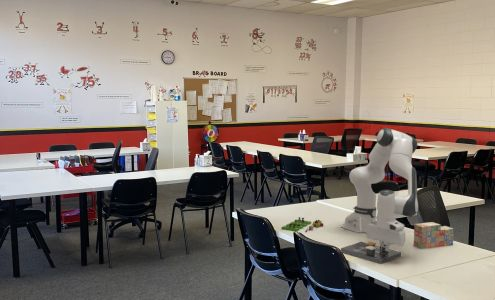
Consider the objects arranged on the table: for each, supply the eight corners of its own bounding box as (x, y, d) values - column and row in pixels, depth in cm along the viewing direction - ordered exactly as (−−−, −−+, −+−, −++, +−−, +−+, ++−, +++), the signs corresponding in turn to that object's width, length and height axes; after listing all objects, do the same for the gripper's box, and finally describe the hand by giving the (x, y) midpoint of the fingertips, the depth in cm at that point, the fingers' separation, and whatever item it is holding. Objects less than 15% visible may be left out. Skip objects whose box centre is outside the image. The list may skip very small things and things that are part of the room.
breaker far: (379, 249, 247) (379, 242, 247) (382, 247, 249) (383, 241, 249) (385, 250, 244) (385, 244, 244) (389, 249, 247) (389, 242, 246)
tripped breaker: (365, 249, 246) (365, 243, 246) (369, 248, 248) (369, 241, 248) (371, 251, 243) (371, 244, 243) (375, 249, 246) (375, 243, 245)
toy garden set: (296, 222, 313) (296, 215, 312) (324, 226, 303) (324, 218, 303) (281, 230, 293) (281, 222, 292) (310, 234, 283) (310, 226, 283)
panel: (340, 252, 249) (340, 248, 249) (361, 245, 261) (361, 241, 261) (381, 263, 231) (381, 259, 231) (401, 256, 243) (401, 251, 243)
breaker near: (365, 253, 239) (365, 247, 239) (369, 252, 241) (369, 245, 241) (371, 255, 236) (371, 248, 236) (375, 254, 239) (376, 247, 238)
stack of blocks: (444, 242, 269) (445, 220, 267) (453, 245, 263) (454, 223, 262) (413, 245, 261) (414, 223, 260) (421, 249, 255) (422, 226, 254)
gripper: (364, 220, 244) (363, 246, 245) (400, 228, 229) (399, 256, 230) (371, 218, 248) (370, 244, 250) (407, 226, 233) (406, 253, 234)
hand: (384, 250), depth 240 cm, fingers closed
